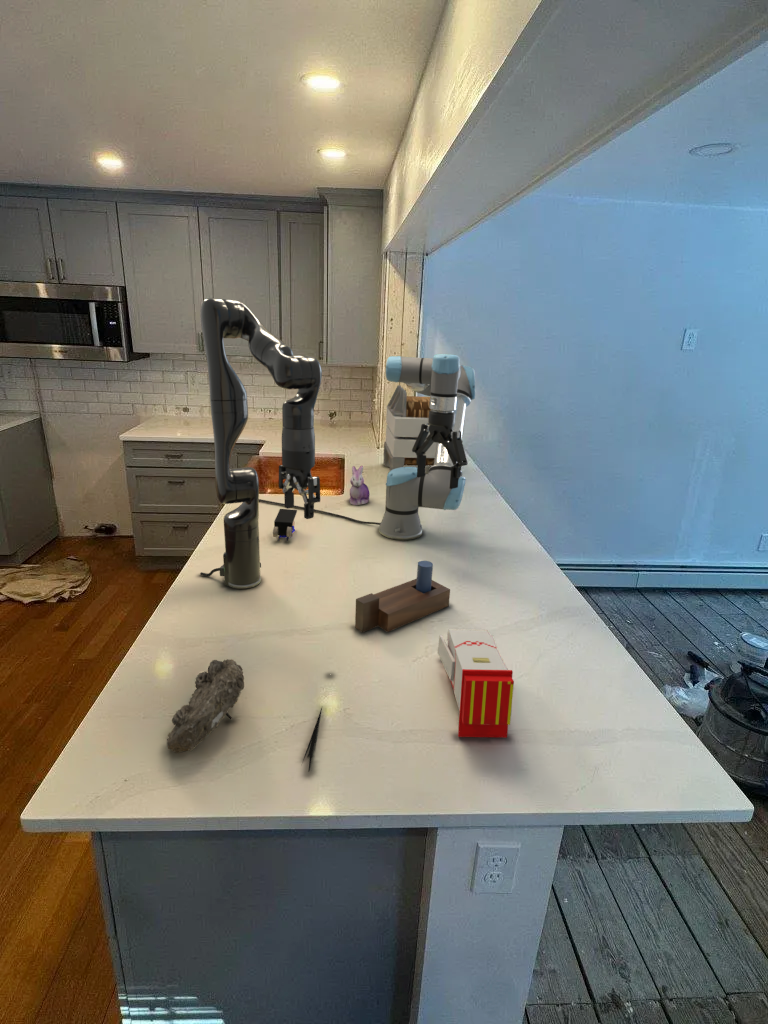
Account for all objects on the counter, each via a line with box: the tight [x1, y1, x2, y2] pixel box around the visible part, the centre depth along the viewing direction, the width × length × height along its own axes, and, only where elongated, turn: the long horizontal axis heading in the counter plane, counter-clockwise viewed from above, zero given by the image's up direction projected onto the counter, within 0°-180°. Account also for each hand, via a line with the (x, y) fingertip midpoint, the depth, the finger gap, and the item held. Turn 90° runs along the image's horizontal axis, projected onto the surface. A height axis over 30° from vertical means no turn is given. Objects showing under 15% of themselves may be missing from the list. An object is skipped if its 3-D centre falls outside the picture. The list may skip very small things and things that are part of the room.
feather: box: [301, 673, 332, 771], centre depth 108 cm, size 2×28×2 cm
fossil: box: [166, 658, 245, 754], centre depth 106 cm, size 22×10×15 cm
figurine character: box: [272, 508, 298, 542], centre depth 192 cm, size 7×8×15 cm
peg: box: [416, 560, 434, 593], centre depth 151 cm, size 4×4×12 cm
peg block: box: [354, 578, 451, 633], centre depth 146 cm, size 10×27×8 cm, turn 131°
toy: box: [437, 628, 515, 738], centre depth 117 cm, size 12×13×30 cm
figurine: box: [348, 465, 370, 506], centre depth 228 cm, size 9×10×15 cm
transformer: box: [383, 384, 465, 472], centre depth 268 cm, size 34×33×41 cm
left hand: (299, 512), depth 135 cm, fingers open, 8 cm apart
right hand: (436, 482), depth 168 cm, fingers open, 13 cm apart
